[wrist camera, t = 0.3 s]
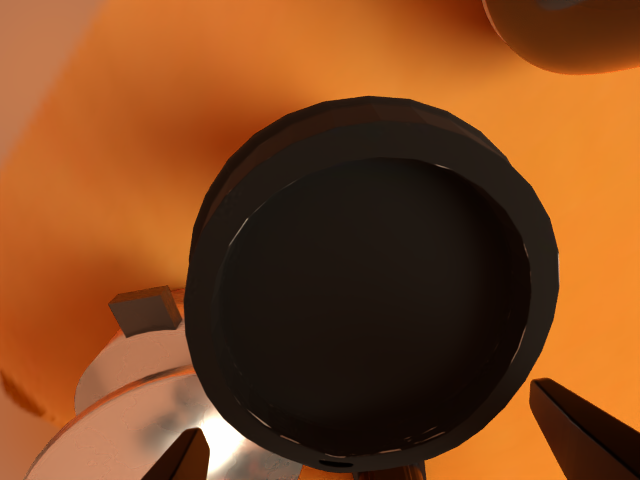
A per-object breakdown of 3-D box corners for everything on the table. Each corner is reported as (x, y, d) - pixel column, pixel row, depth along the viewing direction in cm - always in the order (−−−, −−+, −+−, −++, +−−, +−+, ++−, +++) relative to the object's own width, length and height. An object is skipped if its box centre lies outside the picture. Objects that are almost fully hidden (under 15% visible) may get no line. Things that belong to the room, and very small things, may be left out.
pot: (323, 433, 29) (324, 496, 25) (169, 454, 30) (143, 519, 26) (269, 243, 22) (257, 282, 17) (70, 279, 23) (8, 326, 18)
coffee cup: (257, 225, 21) (149, 461, 8) (273, 80, 18) (133, 39, 4) (385, 245, 22) (497, 498, 8) (423, 109, 19) (717, 154, 5)
